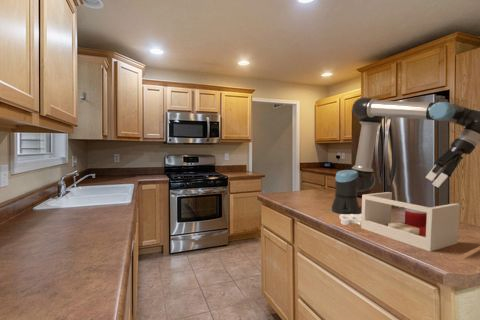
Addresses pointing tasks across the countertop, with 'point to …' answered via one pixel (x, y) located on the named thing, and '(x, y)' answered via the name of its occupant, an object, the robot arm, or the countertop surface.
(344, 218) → the white brass knuckles
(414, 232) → the offcut top
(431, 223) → the rack
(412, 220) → the canned food
